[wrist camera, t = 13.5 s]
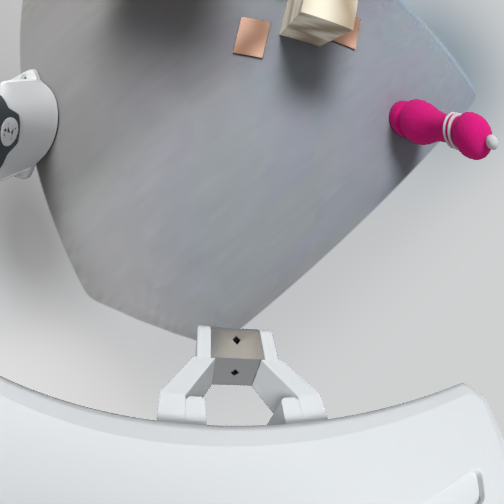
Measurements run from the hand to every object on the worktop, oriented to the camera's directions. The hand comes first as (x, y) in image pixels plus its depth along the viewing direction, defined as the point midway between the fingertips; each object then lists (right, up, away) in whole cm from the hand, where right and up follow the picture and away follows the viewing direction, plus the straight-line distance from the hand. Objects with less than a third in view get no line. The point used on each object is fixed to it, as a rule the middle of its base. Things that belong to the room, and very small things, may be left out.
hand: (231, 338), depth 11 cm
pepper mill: (+26, +26, +25) cm, 44 cm away
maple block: (+9, +40, +15) cm, 43 cm away
